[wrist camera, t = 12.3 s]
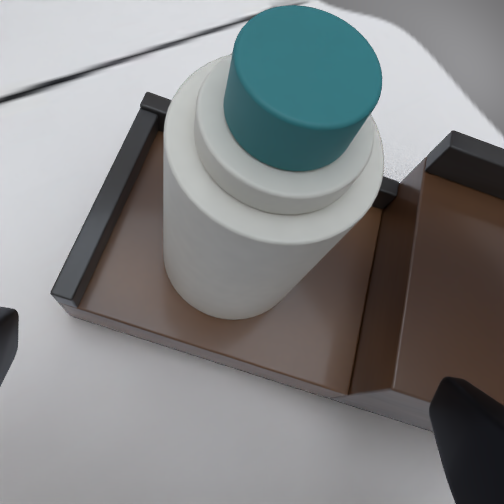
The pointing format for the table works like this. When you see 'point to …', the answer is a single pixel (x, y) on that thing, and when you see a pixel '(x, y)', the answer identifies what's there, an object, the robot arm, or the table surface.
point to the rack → (321, 283)
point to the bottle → (269, 160)
